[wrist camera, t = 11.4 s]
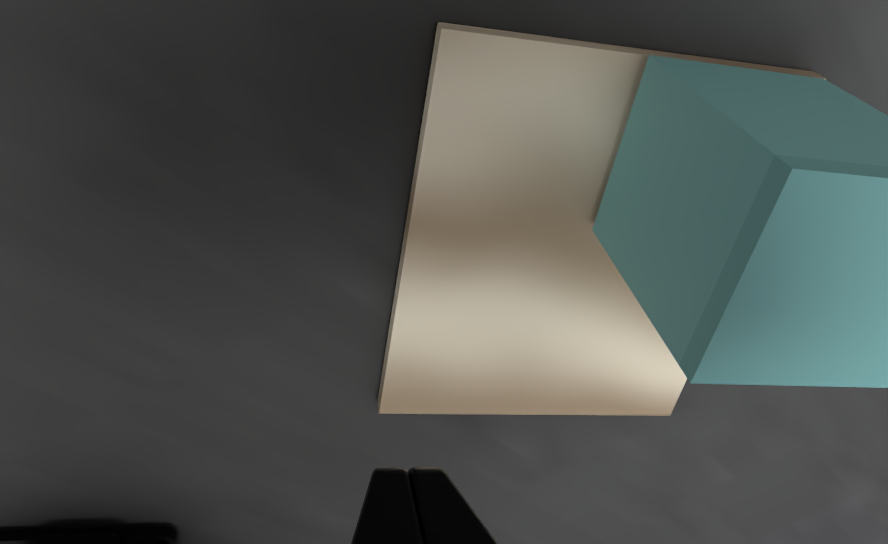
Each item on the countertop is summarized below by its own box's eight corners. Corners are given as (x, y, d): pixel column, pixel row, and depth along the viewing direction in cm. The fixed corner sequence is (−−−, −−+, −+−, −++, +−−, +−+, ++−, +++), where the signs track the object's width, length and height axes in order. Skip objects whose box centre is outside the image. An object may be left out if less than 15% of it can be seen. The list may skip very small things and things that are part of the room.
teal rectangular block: (747, 241, 22) (887, 387, 17) (592, 229, 21) (690, 383, 16) (822, 78, 20) (1020, 191, 14) (649, 55, 18) (792, 168, 13)
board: (663, 404, 27) (669, 415, 27) (377, 401, 25) (378, 413, 24) (813, 71, 20) (826, 78, 20) (437, 21, 18) (441, 28, 18)
